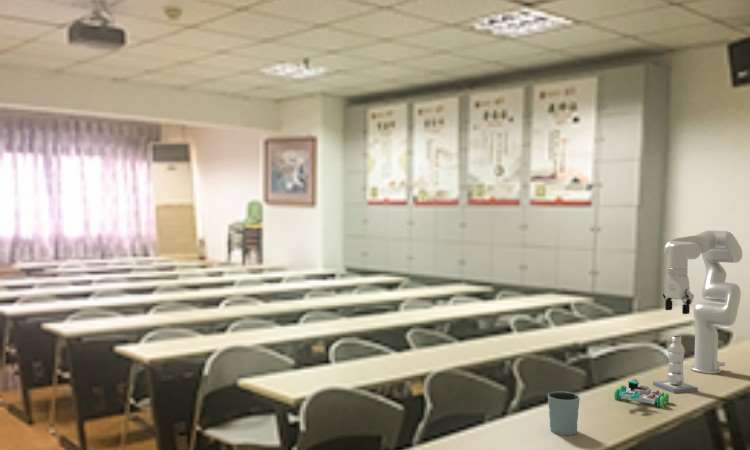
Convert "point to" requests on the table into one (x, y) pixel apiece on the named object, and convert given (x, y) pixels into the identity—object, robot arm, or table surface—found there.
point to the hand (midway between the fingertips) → (677, 311)
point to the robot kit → (641, 394)
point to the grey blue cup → (563, 412)
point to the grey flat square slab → (675, 387)
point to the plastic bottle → (676, 361)
